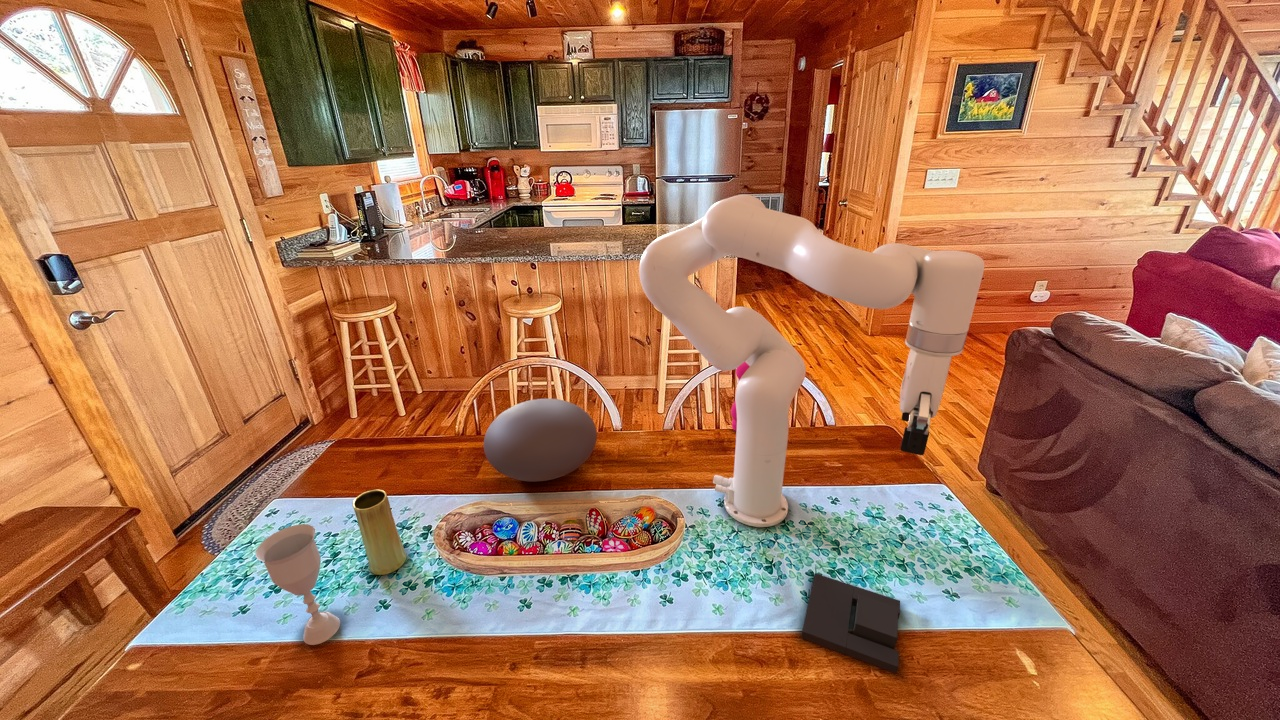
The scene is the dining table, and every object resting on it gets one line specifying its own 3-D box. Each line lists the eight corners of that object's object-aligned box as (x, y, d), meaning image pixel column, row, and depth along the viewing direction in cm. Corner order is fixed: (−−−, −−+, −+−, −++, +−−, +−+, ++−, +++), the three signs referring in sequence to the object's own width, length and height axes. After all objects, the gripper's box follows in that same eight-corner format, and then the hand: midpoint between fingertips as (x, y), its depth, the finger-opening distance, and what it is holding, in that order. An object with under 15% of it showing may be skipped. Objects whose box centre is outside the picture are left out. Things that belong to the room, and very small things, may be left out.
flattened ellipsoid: (512, 433, 130) (504, 381, 123) (608, 438, 126) (605, 385, 120) (469, 496, 107) (457, 436, 101) (584, 505, 104) (579, 444, 98)
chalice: (309, 659, 75) (269, 569, 67) (285, 637, 78) (245, 549, 70) (357, 621, 80) (325, 534, 73) (333, 603, 84) (300, 518, 76)
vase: (414, 555, 93) (397, 493, 87) (386, 580, 88) (366, 515, 82) (390, 545, 95) (372, 484, 89) (362, 569, 90) (340, 505, 84)
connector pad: (852, 638, 76) (855, 623, 75) (855, 608, 80) (858, 594, 79) (893, 653, 74) (897, 638, 72) (894, 622, 78) (898, 607, 77)
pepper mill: (758, 436, 126) (765, 363, 117) (729, 433, 127) (733, 361, 119) (758, 421, 132) (764, 351, 124) (730, 419, 134) (734, 349, 125)
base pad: (800, 638, 76) (802, 631, 76) (813, 579, 86) (814, 572, 85) (896, 674, 71) (898, 667, 70) (898, 607, 81) (900, 600, 80)
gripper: (907, 315, 83) (888, 407, 90) (906, 355, 69) (883, 459, 76) (960, 321, 80) (936, 415, 87) (970, 364, 66) (940, 472, 73)
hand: (911, 436), depth 81 cm, fingers open, 9 cm apart
